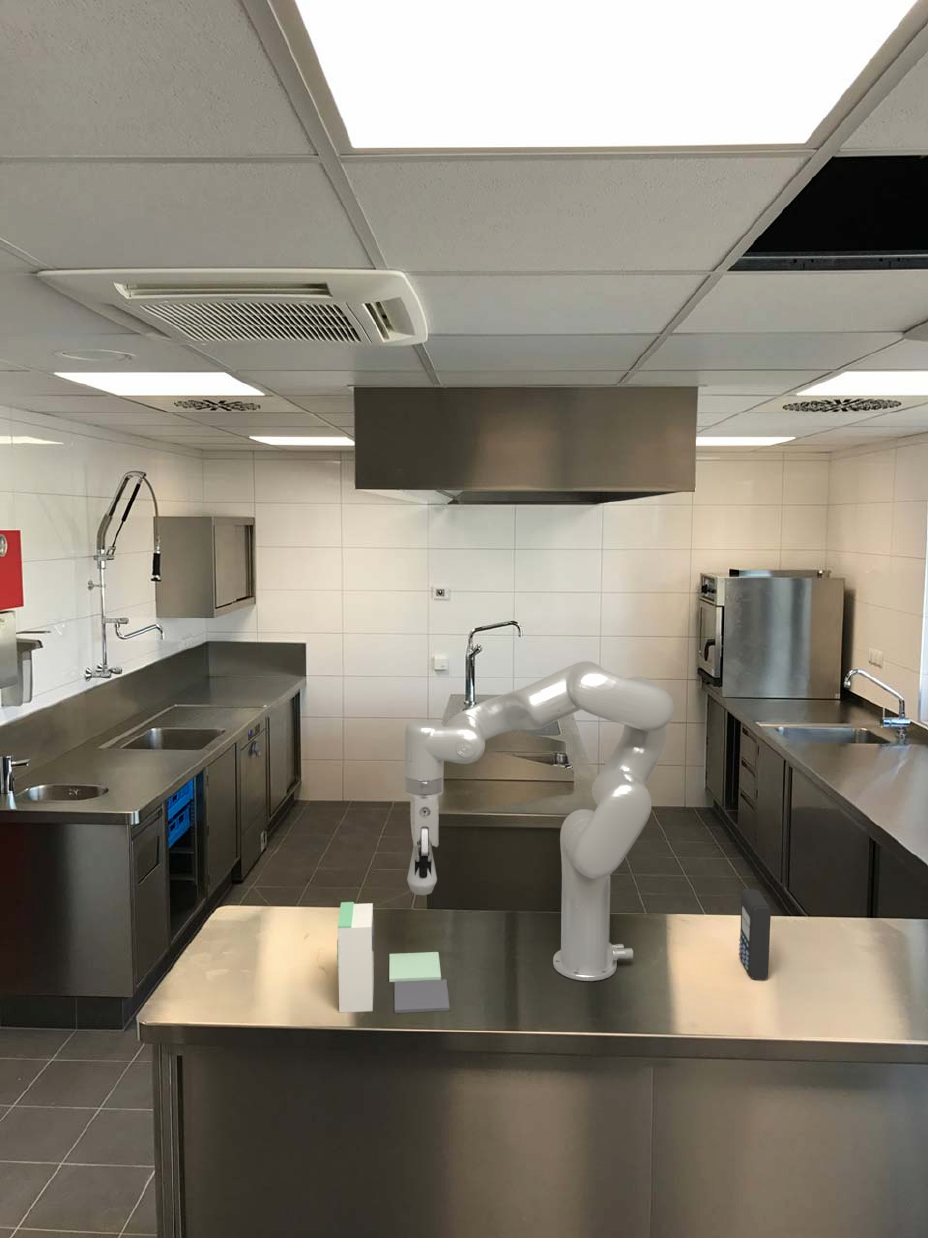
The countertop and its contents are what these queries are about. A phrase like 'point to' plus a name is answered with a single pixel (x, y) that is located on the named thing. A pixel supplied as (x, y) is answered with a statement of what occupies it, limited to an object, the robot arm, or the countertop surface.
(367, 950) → the block
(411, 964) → the green pad
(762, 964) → the card reader
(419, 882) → the salt shaker
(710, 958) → the countertop surface
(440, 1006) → the grey pad
